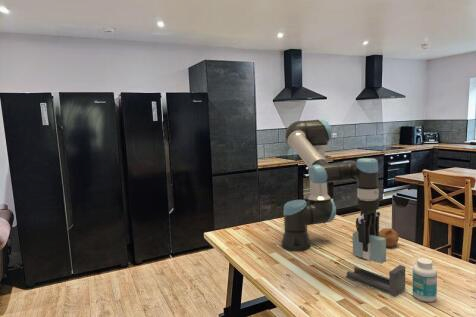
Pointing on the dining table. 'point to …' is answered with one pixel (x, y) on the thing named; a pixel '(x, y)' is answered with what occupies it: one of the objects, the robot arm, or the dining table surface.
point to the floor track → (381, 280)
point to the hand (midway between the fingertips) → (369, 257)
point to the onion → (389, 236)
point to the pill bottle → (424, 280)
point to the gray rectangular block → (371, 247)
